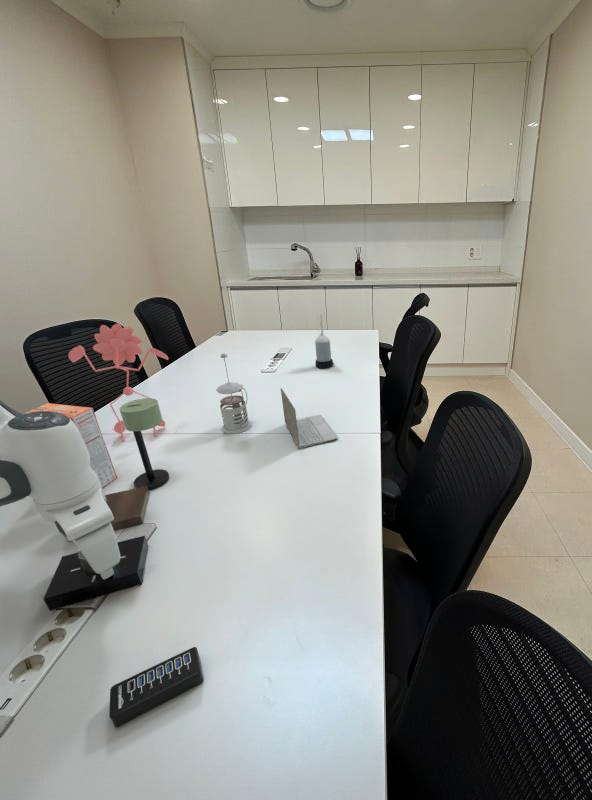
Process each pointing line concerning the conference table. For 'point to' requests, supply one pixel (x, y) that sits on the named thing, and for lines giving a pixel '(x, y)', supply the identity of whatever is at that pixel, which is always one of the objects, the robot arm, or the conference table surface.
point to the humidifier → (323, 350)
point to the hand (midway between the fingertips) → (98, 562)
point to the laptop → (306, 426)
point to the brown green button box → (128, 507)
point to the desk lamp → (138, 419)
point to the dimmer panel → (96, 576)
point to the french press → (233, 422)
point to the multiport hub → (155, 686)
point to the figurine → (117, 357)
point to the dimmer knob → (85, 564)
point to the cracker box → (88, 438)
